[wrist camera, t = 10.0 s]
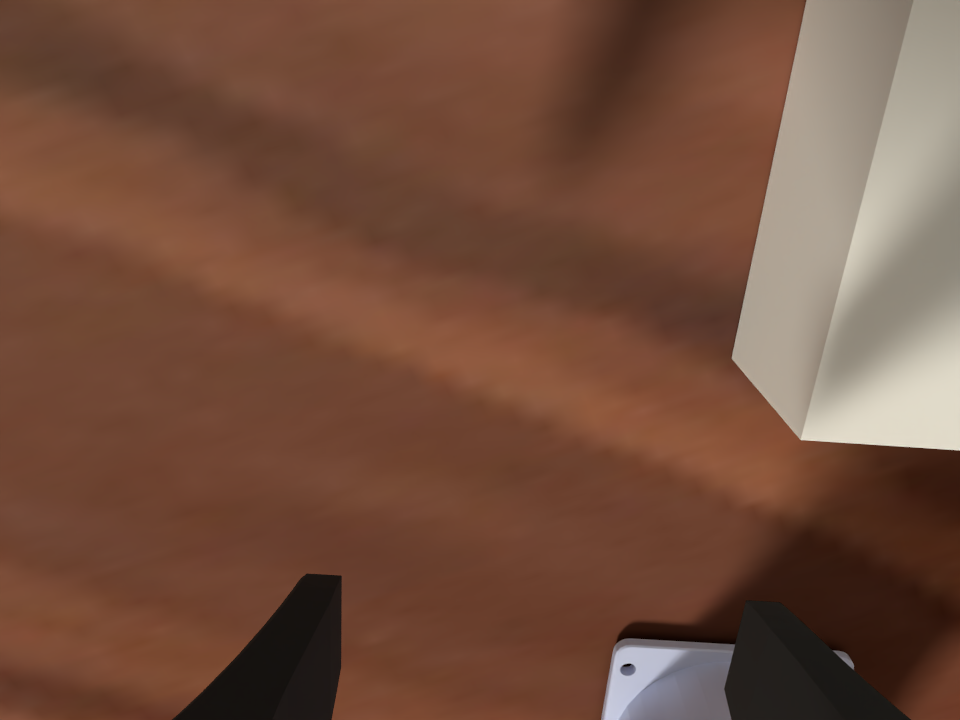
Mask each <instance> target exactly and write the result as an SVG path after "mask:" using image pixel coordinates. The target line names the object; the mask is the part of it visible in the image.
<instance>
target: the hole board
mask: <svg viewBox="0 0 960 720" xmlns="http://www.w3.org/2000/svg"><path fill="white" fill-rule="evenodd" d="M732 360H733V361H734V362H735V363H736V364H737V365H738V367H739V368H740V369H741V370H742V371H743V373H744V374H745V375H746V376H747V377H748V378H749V380H750V381H751V382H752V383H753V384H754V385H755V387H756V388H757V389H758V390H759V391H760V393H761V394H762V395H763V396H764V397H765V398H766V400H767V401H768V402H769V403H770V404H771V406H772V407H773V408H774V409H775V410H776V411H777V413H778V414H779V415H780V416H781V417H782V419H783V420H784V421H785V422H786V423H787V424H788V426H789V427H790V428H791V429H792V430H793V432H794V433H795V434H796V435H797V436H798V437H799V439H800V440H810V441H825V442H840V443H855V444H870V445H886V446H901V447H916V448H931V449H946V450H960V0H807V1H806V6H805V11H804V15H803V20H802V25H801V30H800V34H799V39H798V44H797V49H796V54H795V58H794V63H793V68H792V73H791V77H790V82H789V87H788V92H787V96H786V101H785V106H784V111H783V116H782V120H781V125H780V130H779V135H778V139H777V144H776V149H775V154H774V158H773V163H772V168H771V173H770V178H769V182H768V187H767V192H766V197H765V201H764V206H763V211H762V216H761V221H760V225H759V230H758V235H757V240H756V244H755V249H754V254H753V259H752V263H751V268H750V273H749V278H748V283H747V287H746V292H745V297H744V302H743V306H742V311H741V316H740V321H739V325H738V330H737V335H736V340H735V345H734V349H733V354H732Z"/></svg>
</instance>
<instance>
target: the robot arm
mask: <svg viewBox="0 0 960 720" xmlns="http://www.w3.org/2000/svg"><path fill="white" fill-rule="evenodd" d="M341 579H342V576H337V575H321V574H306V575H305V576H303V577H302V578H301V579H300V580H299V582H298V583H297V584H296V586H295V587H294V588H293V590H292V591H291V592H290V594H289V595H288V596H287V598H286V599H285V600H284V602H283V603H282V604H281V605H280V607H279V608H278V609H277V610H276V612H275V613H274V614H273V615H272V617H271V618H270V619H269V620H268V621H267V623H266V624H265V625H264V626H263V627H262V629H261V630H260V631H259V632H258V633H257V634H256V635H255V637H254V638H253V639H252V640H251V641H250V642H249V643H248V644H247V646H246V647H245V648H244V649H243V650H242V651H241V652H240V654H239V655H238V656H237V657H236V658H235V659H234V660H233V661H232V662H231V663H230V664H229V665H228V666H227V667H226V668H225V669H224V670H223V671H222V672H221V673H220V674H219V675H218V676H217V677H216V678H215V679H214V681H213V682H212V683H211V684H210V685H209V686H208V687H207V688H206V689H205V690H204V691H203V692H202V693H201V694H200V695H199V696H198V697H196V698H195V699H194V700H193V701H192V702H191V703H190V704H189V705H188V706H187V707H186V708H185V709H184V710H182V711H181V712H180V713H179V714H178V715H177V716H176V717H175V718H174V719H172V720H331V719H332V714H333V708H334V703H335V698H336V692H337V687H338V681H339V675H340V670H341ZM628 663H630V664H632V665H630V666H628V667H623V665H624V664H628ZM601 720H911V719H909V718H908V717H907V716H906V715H904V714H903V713H902V712H901V711H900V710H898V709H897V708H896V707H895V706H894V705H893V704H891V703H890V702H889V701H888V700H887V699H886V698H884V697H883V696H882V695H881V694H880V693H879V692H878V691H876V690H875V689H874V688H873V687H872V686H871V685H870V684H869V683H867V682H866V681H865V680H864V679H863V678H862V677H861V676H860V675H859V674H858V673H856V672H855V671H854V664H853V662H852V660H851V659H850V657H849V656H848V654H846V653H845V652H842V651H835V650H831V649H830V648H829V647H828V646H827V645H826V644H825V643H824V642H823V641H822V640H821V639H820V638H819V637H818V636H817V635H815V634H814V633H813V632H812V631H811V630H810V629H809V628H808V627H807V626H806V625H805V624H804V623H803V622H801V621H800V620H799V619H798V618H797V617H796V616H795V615H794V614H793V613H792V612H790V611H789V610H788V609H787V608H786V607H785V606H784V605H782V604H781V603H780V602H764V601H748V600H746V603H745V607H744V611H743V615H742V619H741V623H740V627H739V631H738V635H737V639H736V643H735V645H734V644H717V643H700V642H684V641H667V640H650V639H633V638H629V639H623V640H621V641H619V642H618V643H617V644H616V645H615V647H614V649H613V654H612V660H611V666H610V672H609V677H608V683H607V689H606V694H605V700H604V706H603V712H602V717H601Z"/></svg>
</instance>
